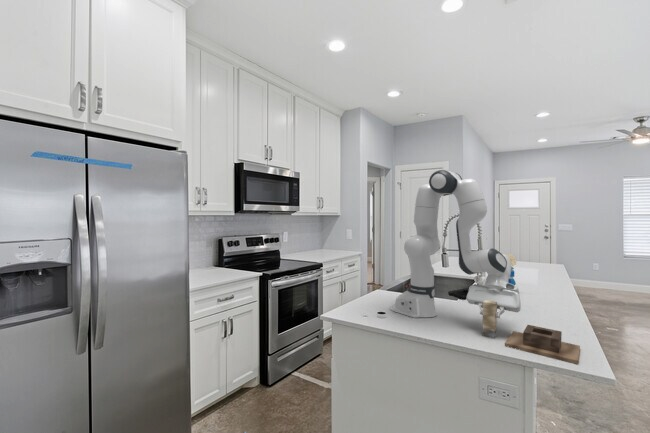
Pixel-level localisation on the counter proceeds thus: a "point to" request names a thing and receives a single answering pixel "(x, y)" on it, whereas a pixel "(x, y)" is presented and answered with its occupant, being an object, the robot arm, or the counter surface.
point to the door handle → (459, 293)
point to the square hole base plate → (544, 343)
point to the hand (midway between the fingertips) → (489, 315)
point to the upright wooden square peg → (489, 319)
